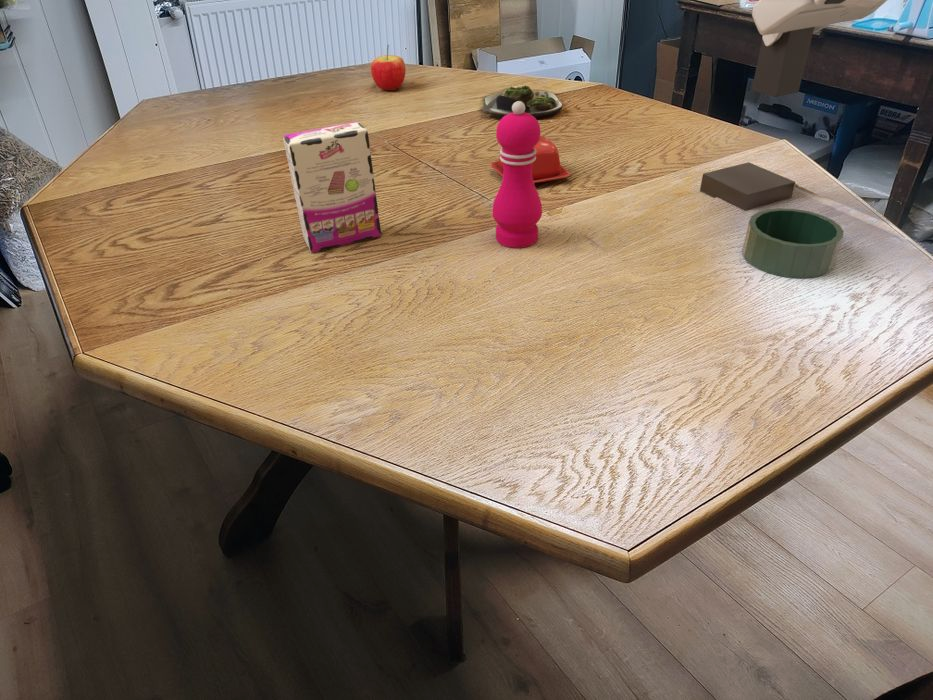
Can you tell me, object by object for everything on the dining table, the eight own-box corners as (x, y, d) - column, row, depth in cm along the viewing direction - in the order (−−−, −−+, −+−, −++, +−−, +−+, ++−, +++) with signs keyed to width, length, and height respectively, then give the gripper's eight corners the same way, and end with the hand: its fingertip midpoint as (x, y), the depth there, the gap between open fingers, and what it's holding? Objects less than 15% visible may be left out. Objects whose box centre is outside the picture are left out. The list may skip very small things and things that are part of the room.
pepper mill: (534, 252, 98) (538, 111, 86) (486, 246, 100) (484, 107, 88) (546, 230, 104) (551, 95, 92) (500, 225, 106) (500, 92, 94)
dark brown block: (774, 85, 102) (791, 11, 96) (798, 92, 98) (817, 16, 92) (751, 89, 100) (767, 15, 94) (775, 97, 97) (793, 20, 91)
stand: (745, 178, 117) (748, 161, 115) (791, 199, 110) (795, 181, 108) (699, 190, 114) (702, 173, 112) (744, 212, 106) (748, 194, 105)
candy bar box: (371, 224, 107) (358, 119, 98) (382, 237, 103) (369, 129, 94) (301, 240, 103) (280, 132, 94) (310, 254, 100) (289, 143, 90)
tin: (784, 233, 100) (792, 201, 97) (852, 267, 92) (863, 233, 89) (723, 252, 96) (730, 219, 93) (788, 289, 88) (798, 254, 85)
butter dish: (573, 182, 118) (576, 133, 113) (512, 193, 115) (512, 143, 110) (545, 160, 127) (546, 114, 122) (487, 170, 124) (486, 123, 119)
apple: (410, 84, 172) (407, 42, 166) (401, 94, 165) (398, 50, 159) (379, 84, 173) (374, 42, 167) (369, 93, 167) (364, 50, 161)
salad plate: (476, 97, 161) (476, 76, 159) (551, 93, 162) (552, 73, 159) (483, 123, 146) (483, 101, 143) (566, 118, 146) (567, 96, 144)
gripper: (912, -64, 86) (827, 10, 99) (794, -50, 79) (719, 27, 92) (933, -20, 86) (844, 48, 99) (815, -2, 79) (736, 69, 92)
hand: (782, 38), depth 96 cm, fingers closed on dark brown block, 4 cm apart
